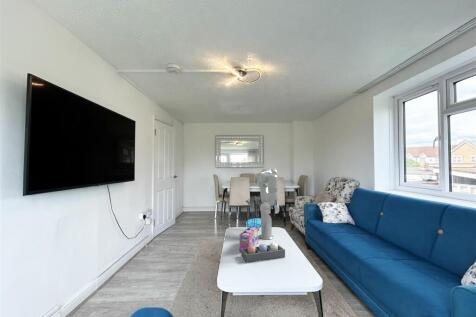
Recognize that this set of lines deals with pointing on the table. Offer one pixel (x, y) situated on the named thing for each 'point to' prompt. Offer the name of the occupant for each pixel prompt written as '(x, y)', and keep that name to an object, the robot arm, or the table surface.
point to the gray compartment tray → (262, 254)
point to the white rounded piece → (273, 246)
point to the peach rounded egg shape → (251, 249)
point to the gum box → (249, 237)
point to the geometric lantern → (253, 210)
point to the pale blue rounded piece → (263, 248)
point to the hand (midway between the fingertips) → (272, 213)
